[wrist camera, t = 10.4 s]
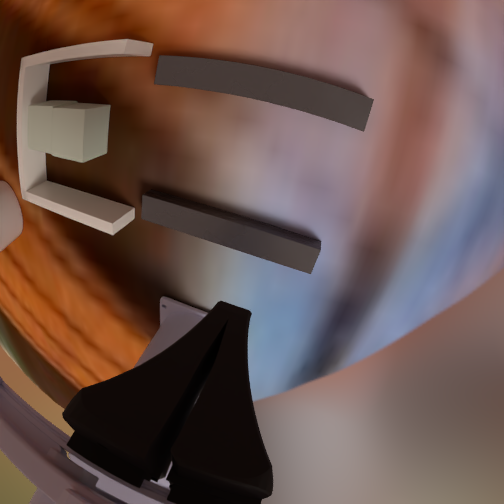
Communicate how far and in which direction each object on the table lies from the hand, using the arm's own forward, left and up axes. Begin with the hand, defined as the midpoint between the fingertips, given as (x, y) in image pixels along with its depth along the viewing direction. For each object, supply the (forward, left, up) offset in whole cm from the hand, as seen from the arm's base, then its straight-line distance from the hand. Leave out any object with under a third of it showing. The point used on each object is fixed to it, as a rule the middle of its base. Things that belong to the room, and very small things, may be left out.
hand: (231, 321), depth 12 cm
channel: (+4, +3, -9) cm, 11 cm away
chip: (+4, +20, -10) cm, 23 cm away
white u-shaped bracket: (+4, +18, -9) cm, 20 cm away
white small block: (+4, +16, -10) cm, 19 cm away
